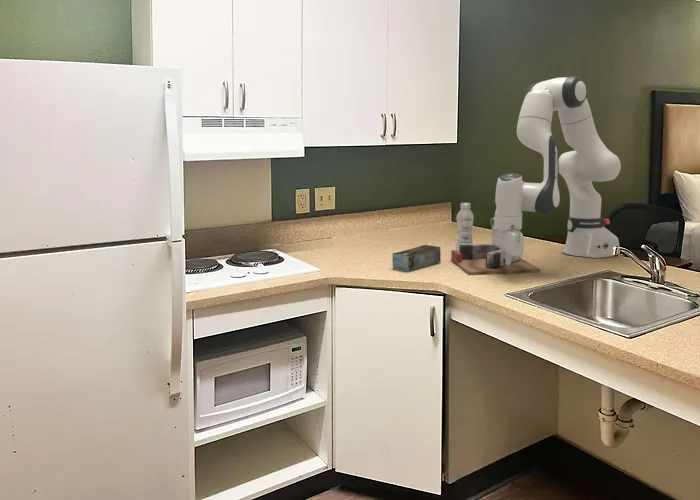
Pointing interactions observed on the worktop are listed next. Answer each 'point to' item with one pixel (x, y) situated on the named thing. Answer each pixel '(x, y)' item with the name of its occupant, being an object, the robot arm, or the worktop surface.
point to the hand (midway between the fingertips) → (506, 263)
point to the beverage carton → (416, 258)
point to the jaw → (497, 259)
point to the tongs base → (475, 261)
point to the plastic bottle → (464, 225)
